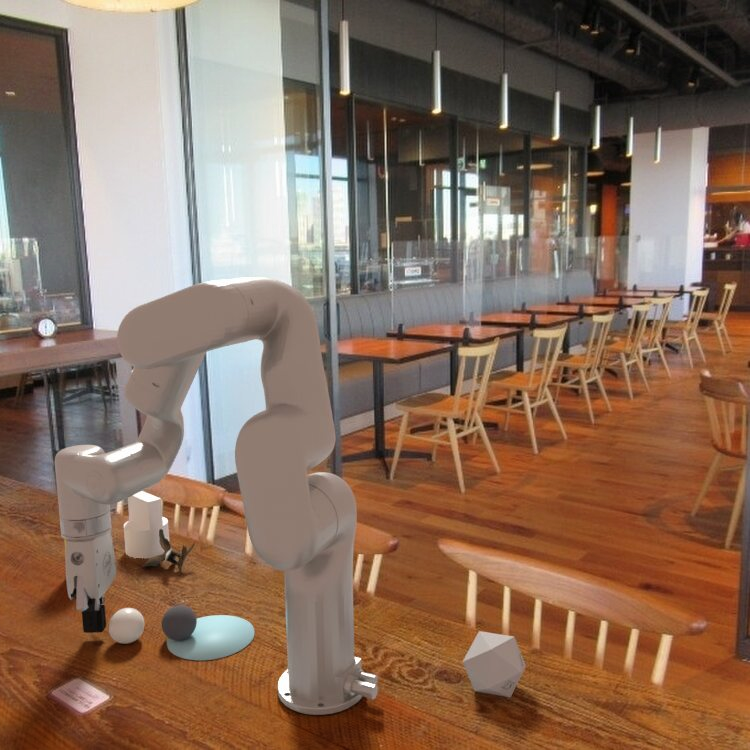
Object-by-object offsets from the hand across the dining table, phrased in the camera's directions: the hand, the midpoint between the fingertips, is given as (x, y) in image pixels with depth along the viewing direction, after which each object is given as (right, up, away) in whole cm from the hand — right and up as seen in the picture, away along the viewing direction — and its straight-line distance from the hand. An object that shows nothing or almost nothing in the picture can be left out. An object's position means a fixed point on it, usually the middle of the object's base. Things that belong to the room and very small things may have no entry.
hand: (95, 629), depth 120 cm
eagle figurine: (+4, +3, +28) cm, 28 cm away
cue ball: (+6, +1, -1) cm, 6 cm away
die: (+63, -3, -15) cm, 65 cm away
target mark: (+19, -1, 0) cm, 19 cm away
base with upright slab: (-3, +4, +36) cm, 37 cm away
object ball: (+14, +1, -1) cm, 14 cm away
